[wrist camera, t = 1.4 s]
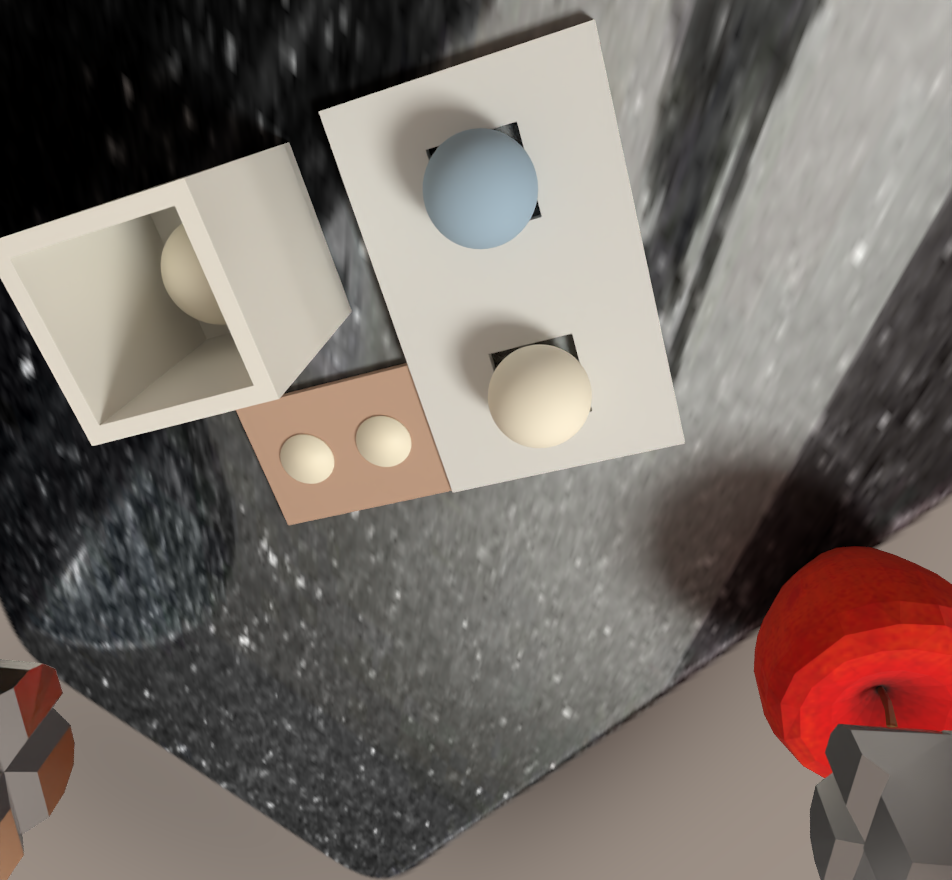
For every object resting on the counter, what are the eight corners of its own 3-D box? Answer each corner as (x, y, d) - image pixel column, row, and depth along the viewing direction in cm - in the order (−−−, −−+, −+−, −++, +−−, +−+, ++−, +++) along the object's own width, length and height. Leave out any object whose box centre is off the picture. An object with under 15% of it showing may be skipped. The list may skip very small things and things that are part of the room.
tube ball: (265, 191, 30) (223, 210, 27) (304, 292, 32) (270, 323, 28) (172, 220, 31) (119, 243, 27) (215, 317, 33) (171, 351, 29)
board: (323, 110, 29) (318, 111, 29) (594, 19, 27) (594, 19, 26) (454, 485, 36) (452, 492, 35) (683, 436, 33) (685, 443, 33)
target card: (411, 361, 33) (409, 365, 33) (454, 485, 36) (453, 491, 35) (238, 405, 35) (234, 410, 34) (291, 520, 37) (287, 526, 37)
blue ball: (523, 108, 28) (516, 117, 25) (552, 219, 30) (549, 243, 26) (418, 142, 29) (396, 155, 26) (451, 248, 31) (435, 274, 27)
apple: (756, 491, 34) (803, 606, 27) (971, 515, 34) (1076, 639, 27) (713, 654, 38) (745, 791, 31) (905, 678, 37) (981, 824, 30)
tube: (288, 142, 30) (184, 177, 22) (351, 311, 32) (279, 399, 24) (133, 193, 31) (-18, 244, 23) (206, 351, 34) (92, 446, 26)
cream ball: (577, 319, 32) (578, 354, 28) (600, 409, 33) (604, 453, 30) (480, 344, 32) (469, 380, 29) (507, 431, 34) (500, 476, 30)
